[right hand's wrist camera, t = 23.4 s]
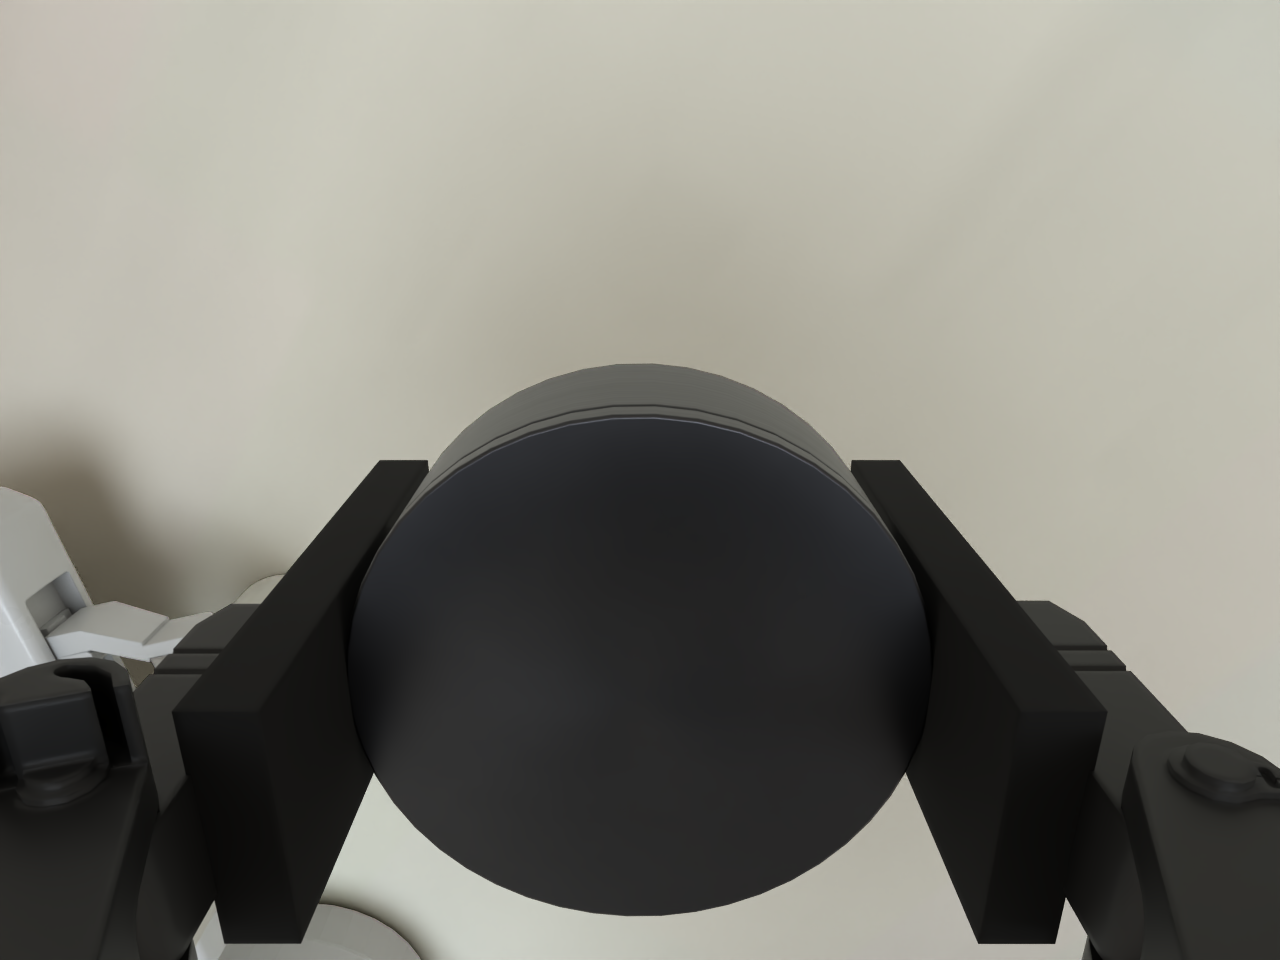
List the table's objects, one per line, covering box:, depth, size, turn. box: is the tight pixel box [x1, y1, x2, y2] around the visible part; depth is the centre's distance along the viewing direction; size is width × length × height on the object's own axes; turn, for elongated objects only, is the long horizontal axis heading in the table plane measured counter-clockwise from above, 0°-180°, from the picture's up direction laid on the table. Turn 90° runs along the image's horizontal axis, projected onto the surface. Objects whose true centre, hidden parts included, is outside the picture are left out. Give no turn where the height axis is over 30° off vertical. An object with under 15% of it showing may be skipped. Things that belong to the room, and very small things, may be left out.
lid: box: [346, 364, 933, 916], centre depth 11 cm, size 7×7×2 cm
